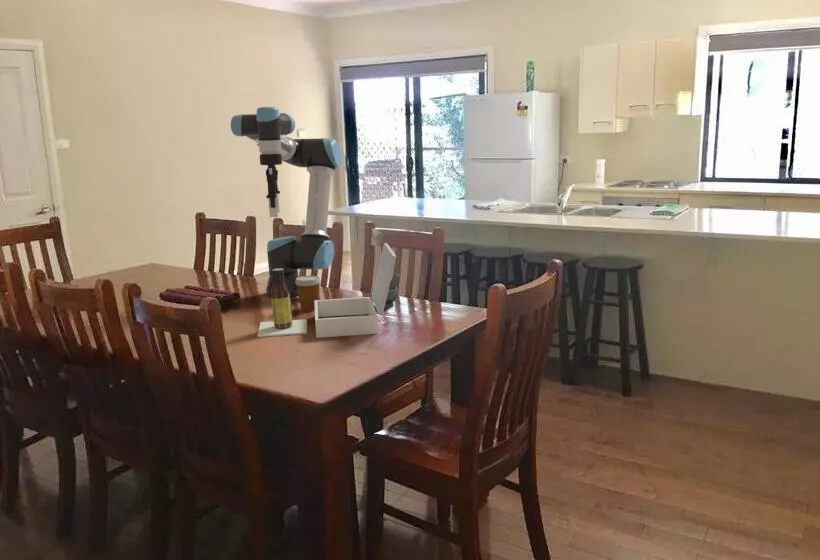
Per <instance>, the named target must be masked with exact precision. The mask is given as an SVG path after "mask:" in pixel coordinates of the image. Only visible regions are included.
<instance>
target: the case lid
mask: <svg viewBox="0 0 820 560" xmlns="http://www.w3.org/2000/svg"><path fill="white" fill-rule="evenodd" d="M382 246H383V247H382V249H381V254H380V259H379V262H378V268H377V272H376V275H375V276H376V277H375V280H374V285H373V287H372V288H373V292H372V294H371V300H372V302H373V305H374V307H375V308H376V309H375V310H376V313H377V315H378V316H383V315H384V311H385V308H384V307H385V303H386V299H387V294H388V290H389V286H390V282H391V280H392V278H393V274H394V269H395V264H396V259H397V255H396V254H395V252H394V251H393V249H392V248H391V246H390V245H389V244H388V242H387V243H386V242H383V245H382Z"/></svg>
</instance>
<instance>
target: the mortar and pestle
mask: <svg viewBox="0 0 820 560" xmlns="http://www.w3.org/2000/svg"><path fill="white" fill-rule="evenodd" d="M399 279H401V275H400V274H397V273H392V277H391V282H390V286H389V290H388V294H387V299H386V303H385V307H384V309H391V308H394V307H395V306H394V305H395V304H394V302H395V301H396V300H397V297H398V295H399V288H398V286H397V284H398V282H399ZM373 288H374V287H372V288H371V291H372V293H373Z"/></svg>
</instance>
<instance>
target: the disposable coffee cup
mask: <svg viewBox="0 0 820 560" xmlns="http://www.w3.org/2000/svg"><path fill="white" fill-rule="evenodd" d="M321 281H322V280H321V278H320V276H319V275H302V276H299V277H297V278H296V281H295V283H296V285H297V290H298V295H297V296H298V299H299V306H300V309H301V311H302V312H315V302H314V300H320V299H319V298H320V288H321V287H320V286H321Z"/></svg>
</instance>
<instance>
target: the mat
mask: <svg viewBox="0 0 820 560" xmlns="http://www.w3.org/2000/svg"><path fill="white" fill-rule="evenodd" d="M307 334H308V319H307V318H305V319H292V326H291V327H288V328H283V329H279V328H276V327H275V326H274V320H273V321H260V323H259V327H258V331H257V334H256V335H257V337H256V338H267V337H279V336H280V337H282V336H284V337H285V336H297V335H307Z"/></svg>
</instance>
